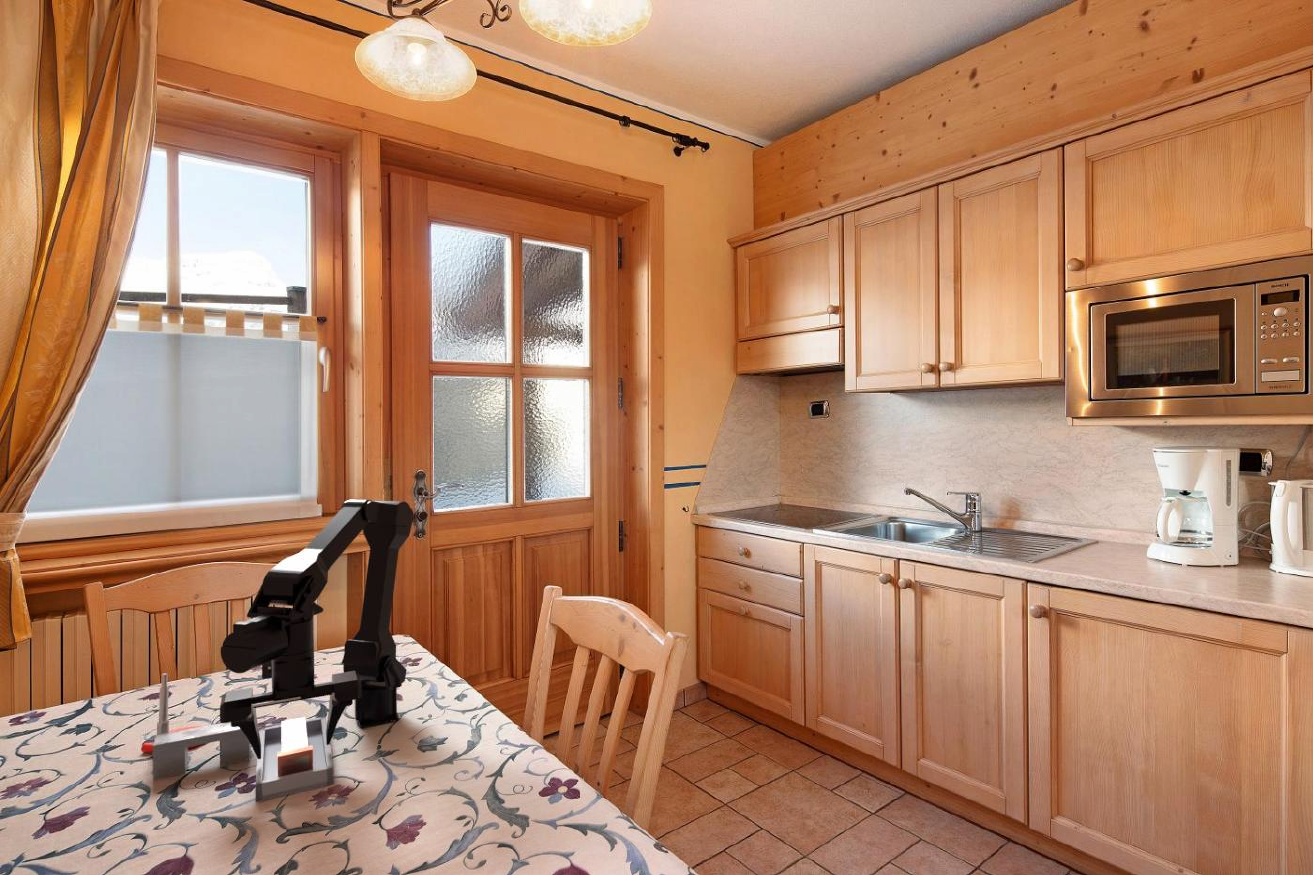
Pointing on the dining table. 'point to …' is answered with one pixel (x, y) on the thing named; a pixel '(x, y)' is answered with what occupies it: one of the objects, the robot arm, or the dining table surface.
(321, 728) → the tray
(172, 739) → the block
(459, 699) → the dining table surface
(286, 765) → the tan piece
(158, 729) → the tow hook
